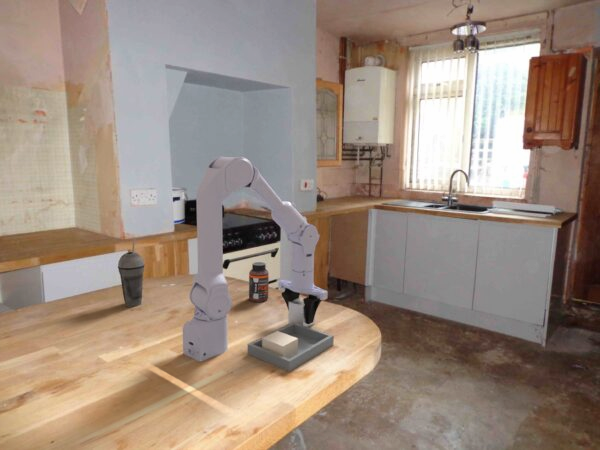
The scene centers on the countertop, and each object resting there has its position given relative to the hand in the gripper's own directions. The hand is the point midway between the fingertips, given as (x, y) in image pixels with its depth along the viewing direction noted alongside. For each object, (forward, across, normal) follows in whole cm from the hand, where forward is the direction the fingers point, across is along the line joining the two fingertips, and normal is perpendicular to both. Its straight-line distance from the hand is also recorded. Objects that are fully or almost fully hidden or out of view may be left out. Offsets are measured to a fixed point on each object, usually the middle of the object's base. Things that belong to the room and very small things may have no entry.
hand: (301, 320), depth 110 cm
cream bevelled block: (+1, -7, +16) cm, 18 cm away
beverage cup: (+2, +48, +19) cm, 52 cm away
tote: (+2, -7, +12) cm, 14 cm away
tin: (+2, 0, 0) cm, 2 cm away
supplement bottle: (+2, +23, -8) cm, 24 cm away
